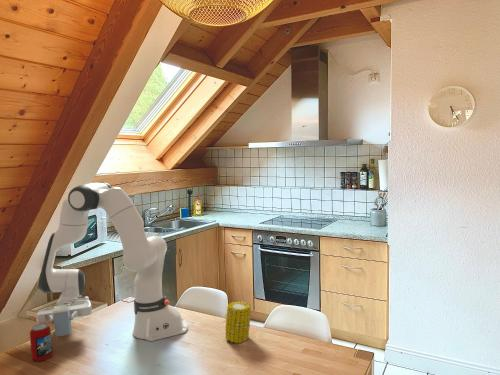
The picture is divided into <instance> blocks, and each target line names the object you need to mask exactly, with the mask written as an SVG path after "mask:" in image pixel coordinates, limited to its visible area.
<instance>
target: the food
mask: <svg viewBox="0 0 500 375" xmlns="http://www.w3.org/2000/svg"><path fill="white" fill-rule="evenodd" d="M226 308H227V309H226V316H225V317H226V319H225V320H226V321H225V333H224V334H225V339H226V340H228V341H230V342H231V343H235V344H241V343H245V342H246V341H248V339H249V336H250V327H251V325H250V324H251V314H252V312H251V311H252V309H251V308H252V307H251V304H250V303H249V302H247V301H240V300H239V301H232V302H229V303H228V305H227V306H226Z"/></svg>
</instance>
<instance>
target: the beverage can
mask: <svg viewBox="0 0 500 375" xmlns="http://www.w3.org/2000/svg"><path fill="white" fill-rule="evenodd" d="M51 331H52V330H51V327H50V325H48V323H47V322H43V323H37V324H35V325H33V326H31V329H30V331H29V338H30V340H29V341H30V350H31V352H30V353H31V359H32V360H34V361H36V362H41V361H44V360H47V359H48V358H50V357H51V356H52V355H53V346H52V333H51Z"/></svg>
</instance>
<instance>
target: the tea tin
mask: <svg viewBox="0 0 500 375" xmlns="http://www.w3.org/2000/svg"><path fill="white" fill-rule="evenodd" d="M53 315H54V323H53V325H54V333H55V334H54V335H55V337H62V336H68V335H70V334H71V331H72V329H73V328H72V320H69V315H70V304H68V305H61V306H56V305H55V308H54V310H53Z"/></svg>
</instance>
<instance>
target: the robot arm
mask: <svg viewBox="0 0 500 375" xmlns="http://www.w3.org/2000/svg"><path fill="white" fill-rule="evenodd" d="M97 209H102V210H104V211H105V213H106V214H107V216H108V218H109V219H110V221H111V223H112V225H113V227H114V229H115V231H116V232H117V234H118V236H119V239H120V241H121V246H122V250H123V253H122V254H123V255H122V263H123V266H124V267H125V268H126V269H127V270H128V271H130V272H132V273H133V272H134V273H136V272H137V273H136V274H135V278H134V281H133V289H134V292H133V293H134V300H133V312H134V326H133V330H132V335H133V336H134V338H137V339H141V340H146V341H148V342H153V341H158V340H161V339H165V338H169V337H175V336H177V335H182V334H185V333H187V331H188V329H189V328H188V322H187V321H186V320H185V319H184V318H182V315H181V313H180V311H179V310H178V309H177V308H176V307H173V306H172V305H170V300H169V299H168V298H167V297H166V295H163V284H162V279H163V276H162V275H163V270H164V264H165V262H164V261H165V257H166V256H165V255H166V252H167V250H168V244H167V242H166V240H165V239H164V238H163V237H161V236H158V235H152V236H146V232H145V228H144V227H145V221H144V219H143V217H142V216H141V214H140V213H139V211H138V209H137V207H136V206H135V204H134V202H133V200H132V199H131V198H130V196H129V195H128V194H127V193H126V192H125V190H123V189H122V188H121V187H119V186H113V185H111V184H109V183H107V182H104V181H103V182H102V181H99V182H88V183H84V184H80V185H77V186H75V187H73V188H72V189H71V190H70V191H69V193H68V194H67V197H66V198H65V199H64V200H63V201H62V205H61V209H60V214H59V225H58V227H57V230H56V231H55V232H54V233H52V234H51V235H50V237H49V239H48V243H47V246H46V249H45V253H44V258H43V262H42V265H41V266H42V267H41V270H40V273H39V275H38V279H37V282H36V285H37V289H39V290H40V291H41V292H42V293H44V294H49V293H51V294H53V293H61V294H60V295H59V298H58V300H57V301H56V304H55V306H61V305H68V304H70V315H69V320H71V321H74V319H76V318H79V317H80V318H81V317H85V316H90V315H92V313H93V312H92V311H93V309H92V303H91V300H90V299H89V296H83V294H84V292H85V289H86V274H85V273H84V272H83V271H82V270H81V269H80V268H79V269H78V268H72V269H71V268H68V269H67V268H63V269H62V268H61V269H60V268H54V262H55V259H56V255H57V252H58V251H59V250H60V249H62V248H65V247H67V246H70V245H74V244H76V243H78V242H80V241H81V240H83V238H85V236H86V235H87V232H88V227H89V226H88V225H89V222H88V221H89V213H90V211H92V210H97ZM55 306H49V307H48V306H47V307H44V308H41V309H39V310H38V311H37V313H36V314H35V320H36V323H37V324H41V323H48V322H50V323H51V324H54V315H53V310H54V308H55Z"/></svg>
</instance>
